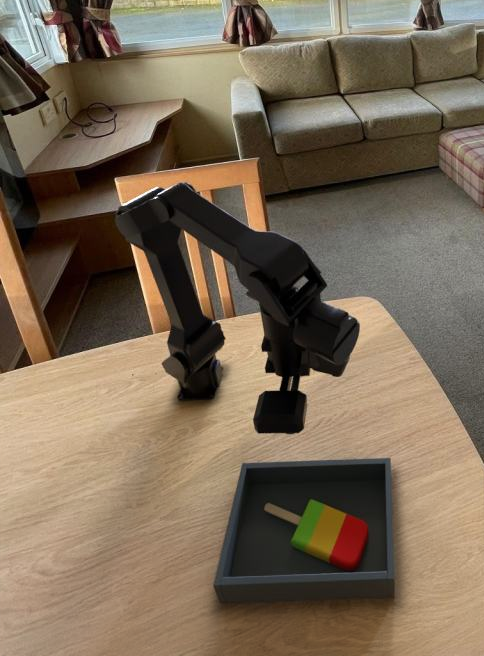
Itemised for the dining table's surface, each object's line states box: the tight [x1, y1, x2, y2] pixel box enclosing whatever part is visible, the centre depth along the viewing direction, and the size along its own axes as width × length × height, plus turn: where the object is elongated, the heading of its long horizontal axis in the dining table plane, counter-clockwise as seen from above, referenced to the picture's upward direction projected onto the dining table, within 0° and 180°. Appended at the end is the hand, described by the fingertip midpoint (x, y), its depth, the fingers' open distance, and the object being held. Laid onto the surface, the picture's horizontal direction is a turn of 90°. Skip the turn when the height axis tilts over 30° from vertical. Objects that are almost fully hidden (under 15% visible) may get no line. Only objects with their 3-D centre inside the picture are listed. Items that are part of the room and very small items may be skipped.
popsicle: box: [264, 499, 369, 572], centre depth 65 cm, size 6×15×2 cm, turn 70°
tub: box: [213, 457, 396, 605], centre depth 65 cm, size 22×14×5 cm, turn 91°
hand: (296, 402), depth 72 cm, fingers open, 9 cm apart
